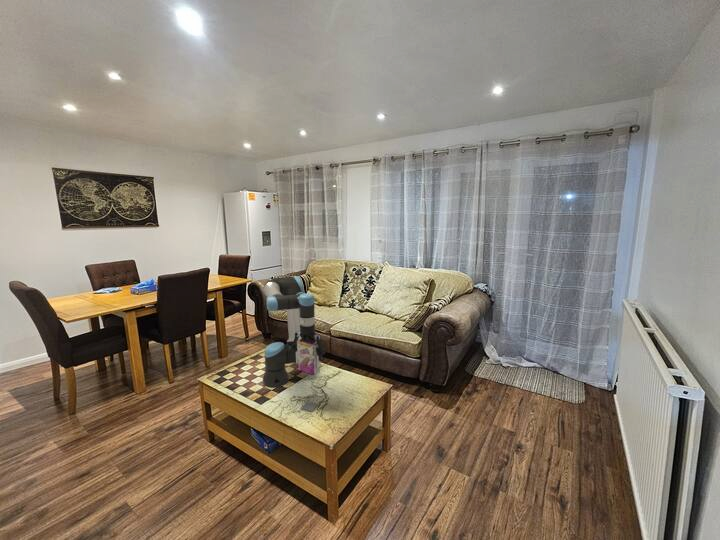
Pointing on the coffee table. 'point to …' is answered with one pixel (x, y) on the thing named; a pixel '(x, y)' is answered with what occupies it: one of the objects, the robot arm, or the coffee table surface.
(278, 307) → the robot arm
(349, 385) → the coffee table surface
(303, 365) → the candy bar box
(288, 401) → the coffee table surface
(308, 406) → the slate coaster
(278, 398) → the coffee table surface
